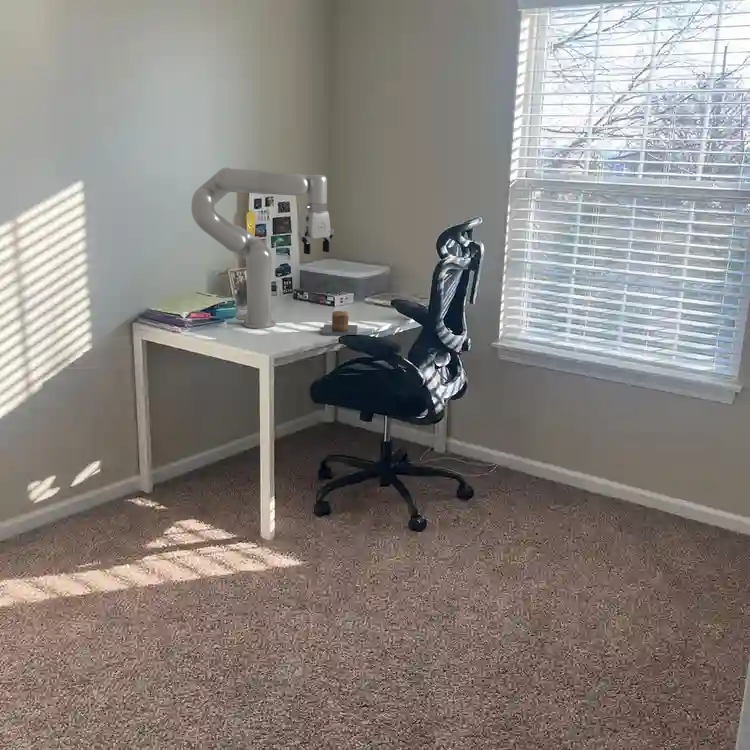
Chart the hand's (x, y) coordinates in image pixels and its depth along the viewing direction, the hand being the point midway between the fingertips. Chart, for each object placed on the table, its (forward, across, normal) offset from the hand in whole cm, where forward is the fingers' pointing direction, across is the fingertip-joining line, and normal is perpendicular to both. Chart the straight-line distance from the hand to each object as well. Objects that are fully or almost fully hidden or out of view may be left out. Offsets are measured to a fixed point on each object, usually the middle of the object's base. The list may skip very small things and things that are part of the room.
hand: (316, 252), depth 320 cm
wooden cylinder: (+27, -1, -16) cm, 31 cm away
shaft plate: (+28, -1, -16) cm, 32 cm away
